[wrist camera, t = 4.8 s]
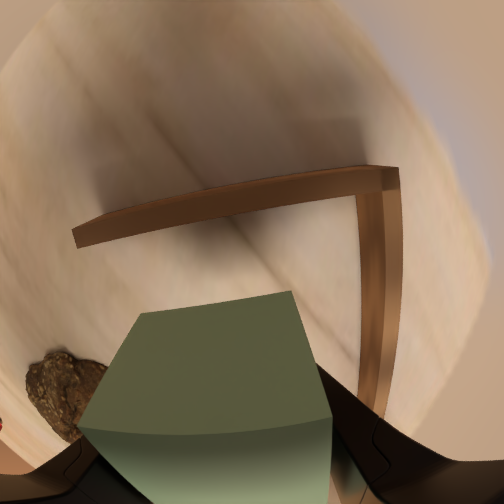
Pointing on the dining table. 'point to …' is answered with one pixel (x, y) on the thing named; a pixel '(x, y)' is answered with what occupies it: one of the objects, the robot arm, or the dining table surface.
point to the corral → (293, 192)
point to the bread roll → (63, 391)
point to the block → (216, 406)
